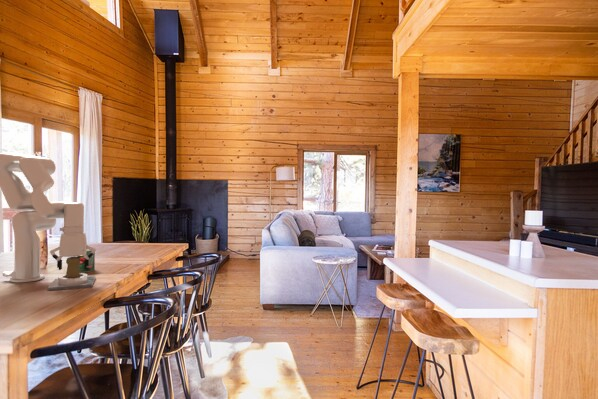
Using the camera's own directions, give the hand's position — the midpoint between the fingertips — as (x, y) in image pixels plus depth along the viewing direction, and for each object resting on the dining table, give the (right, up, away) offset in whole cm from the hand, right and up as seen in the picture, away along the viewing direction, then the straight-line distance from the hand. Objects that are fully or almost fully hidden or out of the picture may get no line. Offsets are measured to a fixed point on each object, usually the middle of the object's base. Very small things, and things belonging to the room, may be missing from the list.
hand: (73, 268), depth 157 cm
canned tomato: (-10, -6, +26) cm, 29 cm away
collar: (0, -7, 0) cm, 7 cm away
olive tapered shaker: (0, -6, 0) cm, 6 cm away
